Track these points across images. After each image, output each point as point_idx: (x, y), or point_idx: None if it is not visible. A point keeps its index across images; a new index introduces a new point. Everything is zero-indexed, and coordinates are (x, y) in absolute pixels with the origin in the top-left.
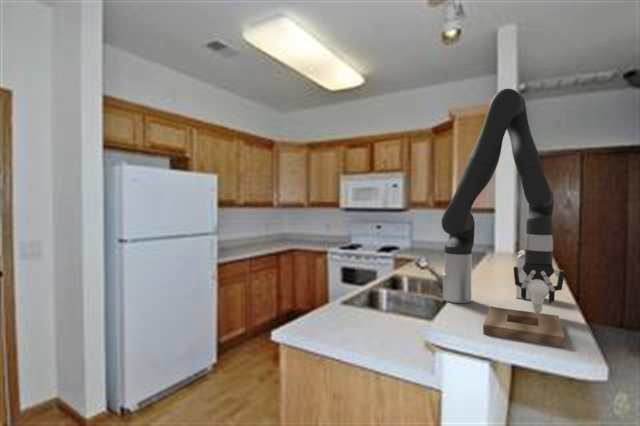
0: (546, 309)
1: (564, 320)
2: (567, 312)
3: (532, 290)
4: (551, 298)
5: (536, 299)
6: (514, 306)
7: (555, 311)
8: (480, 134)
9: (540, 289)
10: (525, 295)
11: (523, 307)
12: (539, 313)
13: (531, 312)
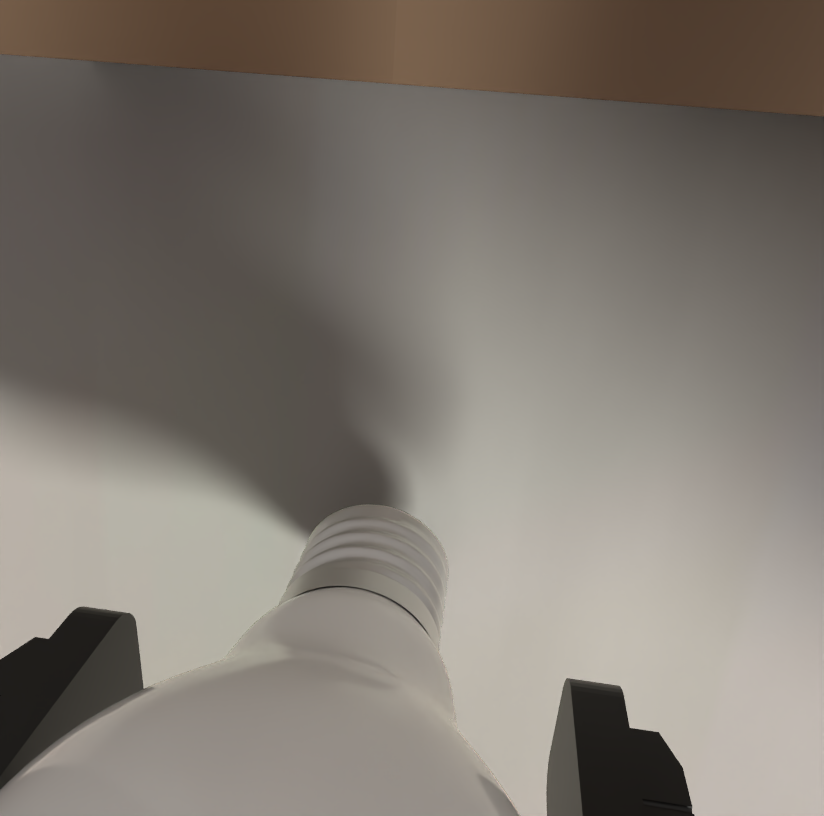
0: None
1: (33, 356)
2: None
3: (421, 802)
4: (24, 672)
5: (351, 638)
6: None
7: None
8: None
9: (133, 809)
10: (590, 762)
11: (533, 793)
12: (355, 48)
13: (526, 56)
